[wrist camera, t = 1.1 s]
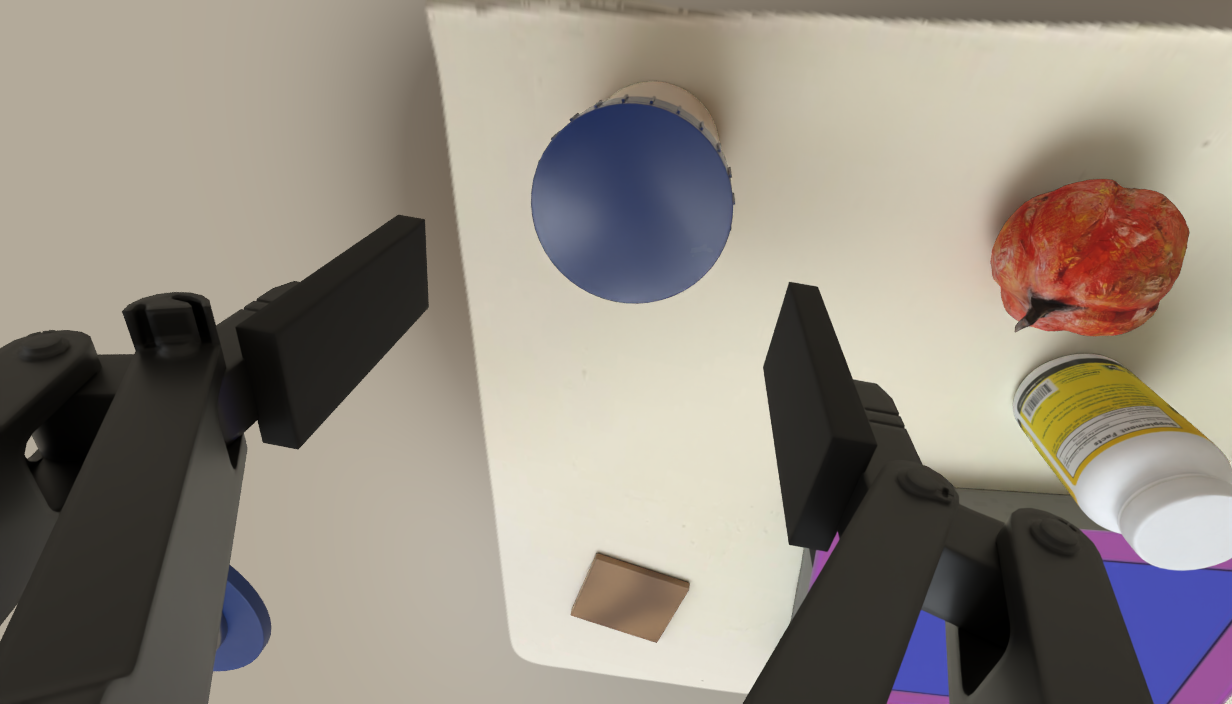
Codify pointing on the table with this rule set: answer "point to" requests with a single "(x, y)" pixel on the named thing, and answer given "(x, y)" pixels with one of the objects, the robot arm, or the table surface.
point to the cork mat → (628, 598)
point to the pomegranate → (1089, 258)
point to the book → (1147, 596)
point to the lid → (633, 200)
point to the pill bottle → (1130, 460)
